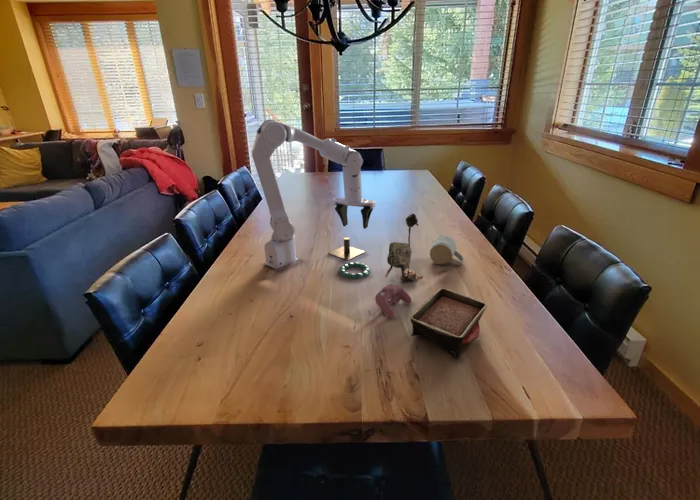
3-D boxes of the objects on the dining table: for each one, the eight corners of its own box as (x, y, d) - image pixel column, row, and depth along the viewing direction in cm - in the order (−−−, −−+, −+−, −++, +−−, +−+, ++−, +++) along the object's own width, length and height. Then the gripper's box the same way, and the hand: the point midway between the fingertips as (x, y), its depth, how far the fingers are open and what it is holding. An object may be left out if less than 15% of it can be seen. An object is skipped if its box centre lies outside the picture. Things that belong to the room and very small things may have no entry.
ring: (356, 284, 108) (356, 278, 107) (332, 275, 114) (332, 269, 113) (376, 273, 115) (376, 267, 114) (352, 264, 120) (352, 258, 120)
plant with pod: (383, 274, 114) (384, 211, 106) (420, 274, 114) (424, 211, 106) (385, 287, 106) (387, 221, 98) (425, 287, 106) (430, 220, 98)
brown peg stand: (348, 263, 121) (347, 245, 119) (328, 256, 127) (327, 239, 124) (365, 254, 127) (365, 237, 125) (345, 248, 133) (345, 231, 130)
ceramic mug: (428, 264, 119) (430, 242, 116) (431, 254, 126) (433, 233, 123) (462, 269, 116) (465, 246, 113) (463, 258, 123) (466, 237, 120)
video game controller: (400, 303, 101) (391, 279, 100) (414, 302, 98) (404, 277, 97) (379, 320, 94) (369, 294, 93) (393, 318, 91) (383, 292, 90)
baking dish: (490, 339, 87) (495, 299, 84) (455, 370, 74) (460, 323, 71) (434, 321, 96) (438, 284, 94) (395, 345, 83) (397, 303, 80)
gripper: (378, 185, 121) (379, 224, 127) (338, 182, 127) (341, 220, 133) (369, 191, 115) (371, 232, 121) (328, 188, 121) (332, 227, 127)
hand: (355, 226), depth 126 cm, fingers open, 7 cm apart
